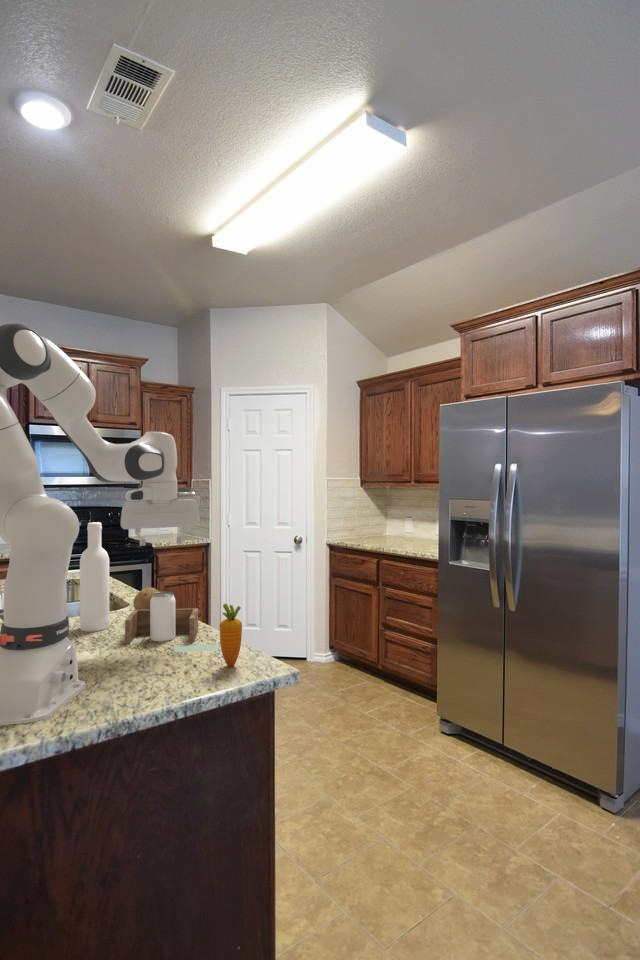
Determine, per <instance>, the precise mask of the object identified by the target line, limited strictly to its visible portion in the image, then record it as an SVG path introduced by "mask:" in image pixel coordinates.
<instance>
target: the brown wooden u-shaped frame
mask: <svg viewBox="0 0 640 960" xmlns="http://www.w3.org/2000/svg"><path fill="white" fill-rule="evenodd" d="M185 633H186V634H189V643H195V641H196V638H197V635H198V633H199V608H198V607H194V608H193V607H191V608H189V607H188V608H186V607H185V608H175V634H185ZM138 635H150V609H143V610H135V609H133V610H132V611H131V612H130V614H129V615H128V616H127V617H126V619H125V620H124V644H125V645H130V644H132V642H133V641H134V640H135V638H136V637H137V636H138Z"/></svg>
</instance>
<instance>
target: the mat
mask: <svg viewBox="0 0 640 960" xmlns="http://www.w3.org/2000/svg"><path fill="white" fill-rule="evenodd" d="M220 647H221V644H219V643H215V644H191V645H189V644H188V645H185V644H183V645H176V646H175V647H174V650H173V653H184V652H190V653H191V652H218V651H220Z"/></svg>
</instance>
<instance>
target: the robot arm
mask: <svg viewBox="0 0 640 960" xmlns="http://www.w3.org/2000/svg"><path fill="white" fill-rule="evenodd" d="M19 384H23V385H24V386H26V387H27V388H28V390H29V391H30V392H31V393H32V394H33V395H34V396H35V397H36V399H37V400H38V401H40V403H41V404H42V405H43V406H44V407H45V408H46V409H47V410H48V411H49V413H50V414H51V415H52V417H53V419H54V421H55V423H56V424H57V426H58V428H60V430H61V431H62V432H63V434H64V435H65V436H66V437H67V438H68V440H69V441H70V442H71V443H72V444H73V446H74V447H76V449H77V451H79V453H81V455H82V457H83V458H84V459H85V462H86V464H87V466H88V468H89V471H90V472H91V474H92V475H93V476H94V477H95V479H97V480H98V481H99V482H102V483H106V484H107V483H116V482H126V483H127V482H128V483H129V482H130V483H131V482H142V487H137V488H134V489H133V490H129V491H127V492H126V493H125V495H124V496H125V500H126V501H125V502H124V503H123V505H122V507H121V508H122V509H121V514H120V527H121V528H122V529H123V530H134V533H135V535H136V537H137V538H138V540H139V546H140V547H142V546H143V547H144V546H145V547H146V537H144V538H143V537H142V536H141V529H143V530H144V529H161V528H162V529H163V528H180V530H181V533H180V534H179V536H176V537H175V538H176V539H175V540H176V544H177V545H181V544H183V538H184V536H185V534H186V532H187V530H188V529H187V527H198V526H199V525H200V522H201V519H200V517H201V516H200V511H199V508H200V506H201V497H200V494H198V493H195V491H190V492H184V491H183V492H182V491H180V492H179V491H178V490H179V489H178V478H177V474H176V473H177V472H176V471H177V467H178V453H177V444H176V441H175V437H174V436H173V435H172V434H170V433H167V432H165V431H159V430H147V431H146V432H145V433H144V434H143V436H141V437H140V438H138V439H136V440H134V441H131V442H130V443H113V442H110V441H109V442H108V441H107V440H105V439H103V438H102V436H101V434H99V432H98V431H97V430H96V428H95V427H94V426H93V425H92V423H91V422H90V421H89V418H87V417H88V416H87V415H88V414H89V412H90V411H91V410H92V409H93V407H94V405H95V402H96V396H97V393H96V392H97V391H96V389H95V387H94V384H93V383H92V381H91V380H90V378H89V377H88V376H87V375H86V374H85V372H84V371H83V370H82V369H81V368H80V367H79V365H77V363H75V361H74V360H73V359H71V357H70V356H69V355H67V353H65V352H64V351H63V350H62V349H61V348H60V347H58V346H57V345H56V344H55V343H54V342H52V341H51V340H50V339H49V338H46V337H45V336H41V335H40V334H39V333H38V332H37V331H36V330H34V329H33V328H31V327H29V326H27V325H25V324H22V323H6V324H2V325H0V539H2V540H3V541H4V542H5V543H6V544H8V545H10V556H9V563H8V569H7V573H6V577H5V580H4V582H3V623H1V627H0V727H2V726H3V725H5V726H10V725H9V724H17V725H23V724H22V723H25V724H28V723H29V724H30V722H31V723H35V721H36V722H39V721H38V720H40V721H43V720H46V719H47V717H48V718H49V717H50V716H52V715H53V714H54V713H55V712H57V711H58V710H60V709H61V708H62V707H63V706H65V705H66V704H67V703H69V702H70V701H71V700H73V699H74V698H75V697H76V696H78V695H79V694H81V693H82V692H83V691H84V690H85V689H86V688H87V685H86V681H83V680H81V679H79V670H78V668H79V667H78V655H77V647H76V646H75V645H74V644H73V643H72V641H70V639H69V634H70V621H69V620H70V619H69V617H68V616H67V582H68V581H67V579H68V572H69V568H70V562H71V557H72V551H73V546H74V543H75V541H76V540H77V539H78V536H79V532H80V522H79V521H80V520H79V519H78V515H77V514H76V513H75V512H74V510H73V509H72V508H71V507H70V505H67V504H66V503H65V502H63V501H62V500H59V499H57V498H53V497H49V495H48V494H47V492H46V490H45V487H44V484H43V481H42V477H41V476H42V475H41V474H40V473H41V472H40V468H39V461H38V460H39V459H38V457H37V456H36V453H35V451H34V449H33V448H32V445H31V443H30V441H29V439H28V438H27V434H26V433H25V432H24V431H25V430H24V429H23V427H22V425H21V423H20V422H19V419H18V418H17V415H16V413H15V412H14V410H13V408H12V407H11V405H10V403H9V401H8V397H7V389H9V388H13V387H14V386H17V385H19Z"/></svg>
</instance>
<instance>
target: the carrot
mask: <svg viewBox="0 0 640 960" xmlns="http://www.w3.org/2000/svg"><path fill="white" fill-rule="evenodd" d="M222 606H223V609H224V611H225V612H222V613H221V614H222V615H223V616H224V617H226V618H224V619H223V620H222V621H221V622H220V623H219V640H220V641H219V642H220V648H221V654H222V657H223V659H224V662H225V664H226V666H227V667H228V668H234V666H235V664H236V663H237V660H238V658H239V655H240V651H241V645H242V635H243V634H242V633H243V632H242V629H243V624H242V623H243V622H242V621H241V620H239V619H238V618H236V617H237V615H238V613H239V611H240V610H241V609H242V607H241V606H240V605H237V607H236V608H235V607H234V605H233V604H230V605H228V603H223V605H222Z"/></svg>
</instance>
